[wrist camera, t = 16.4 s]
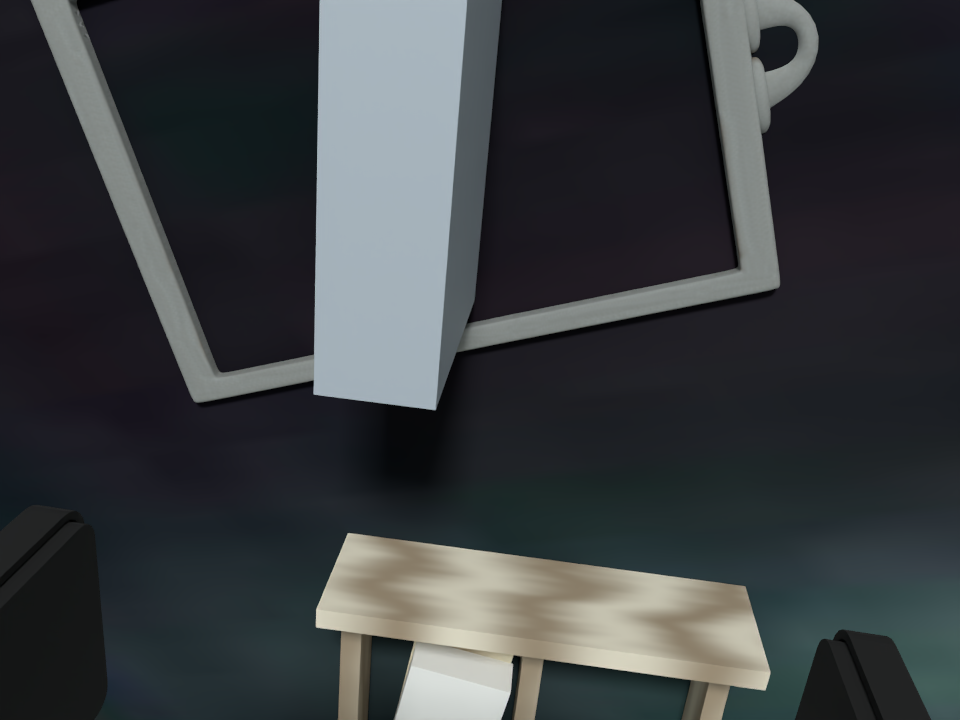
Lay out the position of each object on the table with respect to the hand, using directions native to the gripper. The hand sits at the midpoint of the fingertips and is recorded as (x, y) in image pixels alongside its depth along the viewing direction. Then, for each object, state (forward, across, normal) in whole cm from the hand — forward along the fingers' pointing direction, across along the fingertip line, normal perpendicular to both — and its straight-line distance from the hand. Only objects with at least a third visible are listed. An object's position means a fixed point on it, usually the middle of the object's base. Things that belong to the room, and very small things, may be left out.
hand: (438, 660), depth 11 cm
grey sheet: (+27, +5, -3) cm, 28 cm away
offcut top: (+26, +2, +28) cm, 39 cm away
